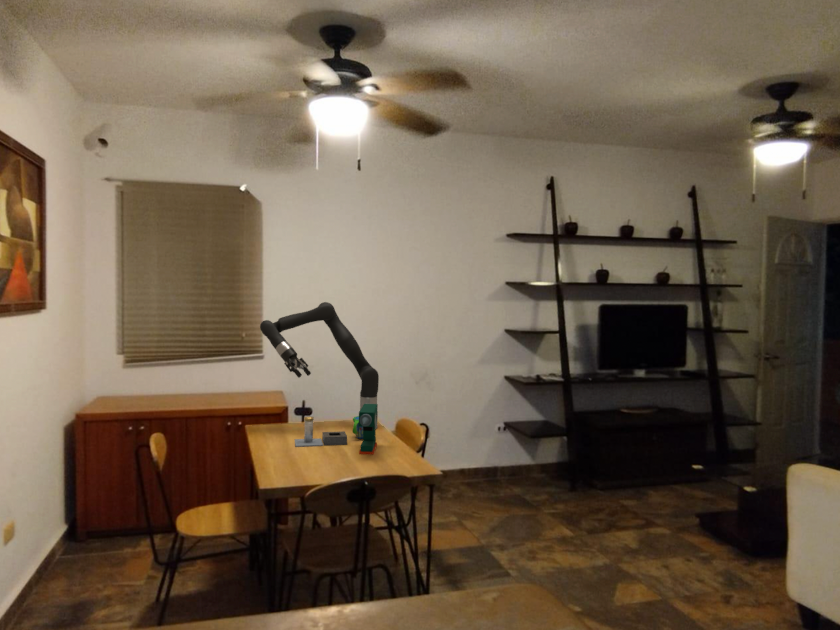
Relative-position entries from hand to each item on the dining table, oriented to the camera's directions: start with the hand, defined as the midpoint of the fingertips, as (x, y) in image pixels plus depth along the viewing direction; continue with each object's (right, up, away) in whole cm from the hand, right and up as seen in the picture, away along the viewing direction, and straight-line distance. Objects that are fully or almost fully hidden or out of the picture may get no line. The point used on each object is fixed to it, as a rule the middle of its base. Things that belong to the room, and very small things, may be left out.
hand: (305, 375), depth 317 cm
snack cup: (+30, -32, -1) cm, 43 cm away
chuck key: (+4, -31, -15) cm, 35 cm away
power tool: (+34, -33, -31) cm, 57 cm away
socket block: (+17, -32, -13) cm, 38 cm away
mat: (+5, -31, -15) cm, 35 cm away
